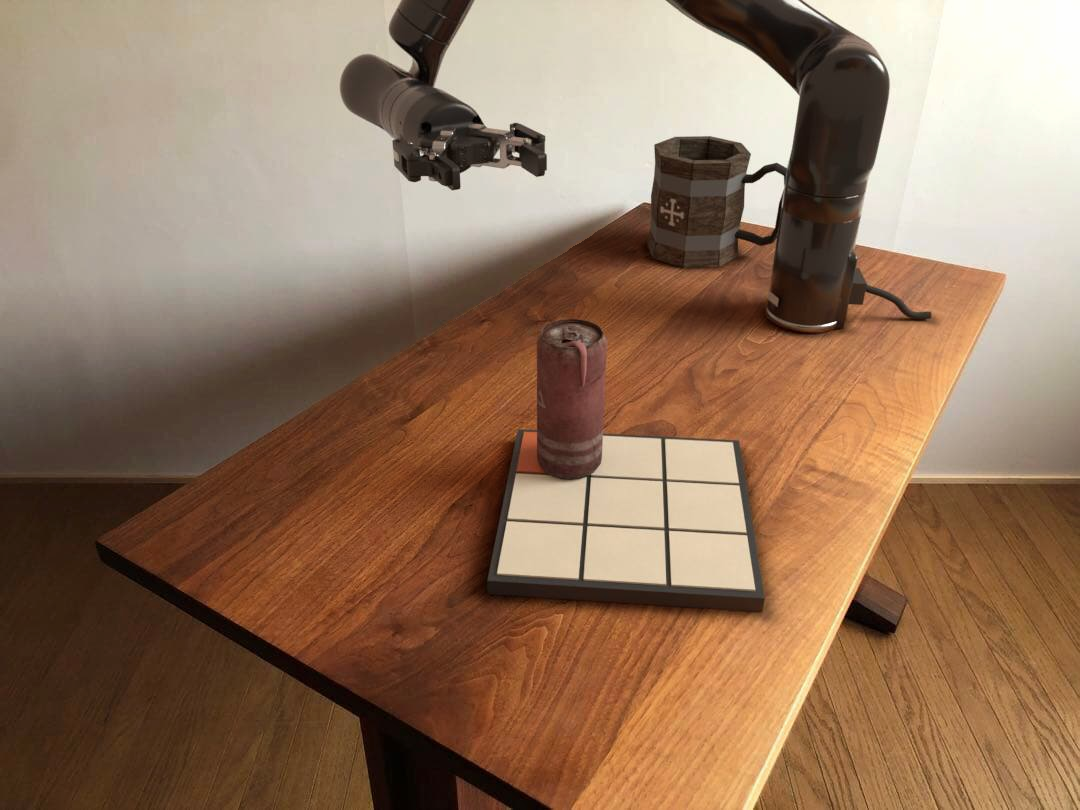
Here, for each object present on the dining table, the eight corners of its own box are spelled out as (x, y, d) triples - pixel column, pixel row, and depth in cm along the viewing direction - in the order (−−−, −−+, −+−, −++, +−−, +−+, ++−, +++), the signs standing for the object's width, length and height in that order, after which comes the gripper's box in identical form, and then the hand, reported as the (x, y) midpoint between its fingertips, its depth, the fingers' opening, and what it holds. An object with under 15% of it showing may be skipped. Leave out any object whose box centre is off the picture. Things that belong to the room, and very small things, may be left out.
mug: (636, 261, 131) (642, 158, 123) (657, 228, 142) (664, 131, 134) (775, 280, 126) (791, 173, 118) (785, 244, 136) (801, 144, 128)
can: (557, 490, 83) (558, 355, 75) (526, 454, 88) (525, 324, 80) (614, 472, 85) (622, 340, 78) (582, 438, 90) (585, 310, 82)
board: (737, 452, 91) (739, 438, 90) (762, 612, 72) (765, 596, 71) (518, 441, 93) (517, 427, 92) (487, 594, 74) (487, 578, 73)
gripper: (366, 99, 91) (424, 141, 79) (496, 84, 96) (569, 121, 84) (373, 173, 95) (429, 224, 83) (498, 155, 100) (568, 200, 88)
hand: (500, 172), depth 83 cm, fingers open, 8 cm apart
